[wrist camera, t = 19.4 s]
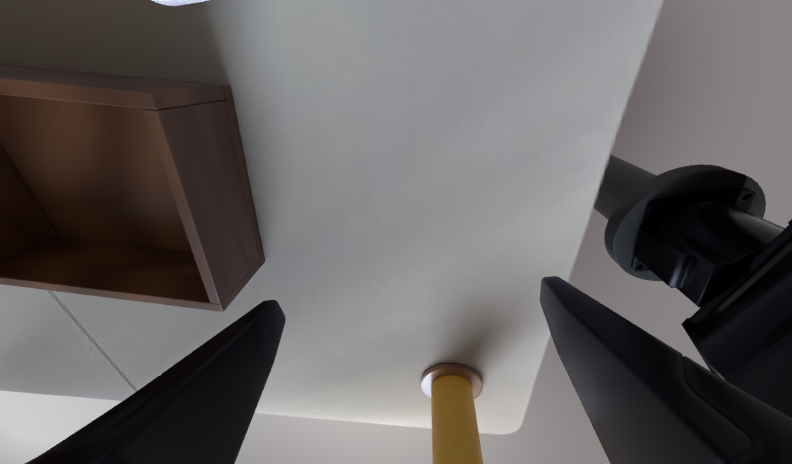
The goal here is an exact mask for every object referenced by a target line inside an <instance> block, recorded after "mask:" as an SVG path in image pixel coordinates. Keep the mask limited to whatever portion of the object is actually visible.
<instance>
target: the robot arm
mask: <svg viewBox="0 0 792 464" xmlns="http://www.w3.org/2000/svg"><path fill="white" fill-rule="evenodd" d="M744 195H745V196H744ZM755 196H756V192H755V191H753V190H751V189H748V188H741V189H732V190H724V191H715V192H707V193H699V194H690V195H682V196H673V197H665V198H656V199H653V200H651V201H649V202H648V204H647V206H646V209H645V213H644V216H643V220H642V224H641V227H640V229H639V233H638V237H637V240H636V244H635V248H634V251H633V257H632V260H631V264H630V267H631V268H632V269H633V270H634V271H636V272H641V271H652V272H654V273H655V274H656V275H657V276H658V277H659V278H660V279H661V280H663V281H664V282H665V283H666V284H667V285H668V286H670V287H671V288H677V289H678V290H680V291H681V292H682V293H683V294H684V295H685V296H686V297H688V298H689V299H690V300H691V301H692V302H693V303H695V304H696V305H697V306H698V307H701V308H700V309H699V310H698V311H697V312H696V313H695V314H694V315H693V316H692V317H691V318H687V319H686V320H685V321H684V322H683V323H682V326H683V327H684V329H685V331H686V332H687V334H688V335H689V337H690V339H691V340H692V342H693V343H694V345H695V347H696V348H697V350H698V352H699V353H700V355H701V356H702V358H703V360H704V361H705V363H706V364H707V366H708V368H709V369H710V371H709V370H707V369H705V368H704V367H702V366H701V365H699V364H697V363H696V362H694V361H692V360H691V359H689V358H688V357H686V356H684V357H683V355H682V354H681V353H679V352H678V351H676V350H675V349H673V348H672V347H670V346H668V345H667V344H665V343H663V342H662V341H660V340H659V339H657V338H655V337H654V336H652V335H650V334H648V333H647V332H646V331H644V330H643V329H641V328H639V327H638V326H636V325H634V324H633V323H631V322H630V321H628V320H627V319H625V318H623V317H622V316H620V315H619V314H617V313H615V312H613V311H612V310H610V309H609V308H607V307H606V306H604V305H602V304H601V303H599V302H598V301H596V300H594V299H593V298H591V297H589V296H588V295H586V294H585V293H583V292H582V291H580V290H578V289H577V288H575V287H573V286H572V285H570V284H569V283H567V282H566V281H564V280H562V279H561V278H559V277H556V276H553V277H544V278H543V279H542V281H541V292H540V302H541V306H542V309H543V312H544V315H545V318H546V320H547V323H548V326H549V329H550V332H551V335H552V338H553V341H554V344H555V346H556V349H557V351H558V354H559V356H560V358H561V361H562V362H563V365H564V367H565V369H566V371H567V373H568V375H569V377H570V379H571V381H572V384H573V386H574V388H575V390H576V392H577V394H578V396H579V398H580V400H581V402H582V405H583V407H584V409H585V411H586V413H587V415H588V417H589V419H590V421H591V423H592V426H593V428H594V430H595V431H596V434H597V436H598V438H599V440H600V442H601V444H602V447H603V449H604V451H605V453H606V455H607V457H608V459H609V461H610V463H611V464H792V220H790V221H789V222H788V223H789V225H788V226H787V227H786V228H783V227H781V226H779V225H776V224H774V223H772V222H770V221H767V220H765V219H763V218H761V217H758V216H756V215H754V214H751V213H749V212H748V211H749V209H750V206H751V204H752V202H753V200H754V198H755ZM657 204H658V205H657ZM655 205H657V206H656V207H654V206H655ZM638 265H639V266H638ZM284 325H285V315H284V313H283V311H282V309H281V308H280V306H279V304H278V302H277V301H276V300H267V301H263V302H262V303H260V304H259V305H258V306H256V307H255V308H253V309H252V310H251V311H249V312H248V313H246V314H245V315H244V316H242V317H241V318H239V319H238V320H237V321H235V322H234V323H232V324H231V325H230V326H228V327H227V328H225V329H224V330H223V331H221V332H220V333H218V334H217V335H216V336H214V337H213V338H211V339H210V340H209V341H207V342H206V343H204V344H203V345H202V346H200V347H199V348H197V349H196V350H195V351H193V352H192V353H190V354H189V355H188V356H186V357H185V358H183V359H182V360H181V361H179V362H178V363H176V364H175V365H174V366H172V367H171V368H169V369H168V370H167V371H165V372H164V373H162V374H161V376H158V377H157V378H155V379H154V380H152V381H151V382H150V383H148V384H147V385H145V386H144V387H143V388H141V389H140V390H138V391H137V392H135V393H134V394H133V395H131V396H130V397H128V398H127V399H125V400H124V401H122V402H121V403H119V404H118V405H116V406H115V407H113V408H112V409H110V410H109V411H107V412H106V413H104V414H103V415H102V416H100V417H98V418H97V419H95V420H94V421H92V422H91V423H89V424H88V425H86V426H85V427H83V428H82V429H80V430H78V431H77V432H75V433H74V434H72V435H71V436H69V437H68V438H66V439H65V440H63V441H62V442H60V443H59V444H57V445H56V446H54V447H52V448H51V449H49V450H48V451H46V452H45V453H43V454H41V455H40V456H38V457H37V458H35V459H33V460H31V461H29V462H27V463H25V464H234V463H235V461H236V458H237V456H238V453H239V451H240V448H241V445H242V443H243V440H244V438H245V435H246V433H247V430H248V427H249V425H250V422H251V420H252V417H253V415H254V412H255V410H256V407H257V404H258V402H259V399H260V397H261V394H262V392H263V389H264V386H265V384H266V381H267V379H268V376H269V374H270V371H271V368H272V366H273V363H274V360H275V357H276V353H277V350H278V346H279V342H280V339H281V335H282V332H283V328H284Z"/></svg>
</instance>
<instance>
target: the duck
mask: <svg viewBox="0 0 792 464" xmlns="http://www.w3.org/2000/svg"><path fill="white" fill-rule="evenodd" d="M431 405H432V451H433V464H483V460H482V453H481V447H480V440H479V433H478V426H477V420H476V413H475V406H474V400H473V393H472V386H471V384H470V383H469V382H468V381H467V380H466V379H464V378H462V377H459V376H452V375H449V376H442V377H439V378H437V379H436V380H434V381H433V383H432V385H431Z"/></svg>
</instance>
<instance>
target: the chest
mask: <svg viewBox="0 0 792 464" xmlns="http://www.w3.org/2000/svg"><path fill="white" fill-rule="evenodd" d="M264 262H265V260H264V255H263V250H262V245H261V240H260V235H259V229H258V224H257V219H256V214H255V209H254V204H253V199H252V194H251V189H250V184H249V179H248V173H247V168H246V163H245V158H244V153H243V148H242V143H241V138H240V133H239V128H238V123H237V118H236V112H235V107H234V102H233V97H232V92H231V87H230V86H227V85H217V84H207V83H196V82H186V81H175V80H165V79H154V78H144V77H134V76H123V75H113V74H102V73H92V72H81V71H71V70H61V69H50V68H40V67H29V66H19V65H8V64H0V284H4V285H12V286H20V287H28V288H36V289H44V290H52V291H60V292H68V293H76V294H84V295H92V296H100V297H108V298H116V299H124V300H132V301H140V302H148V303H156V304H164V305H172V306H180V307H188V308H196V309H204V310H212V311H220V312H223V311H224V310H225V309H226V308H227V307H228V305H229V304H230V303H231V302H232V301H233V299H234V298H235V297H236V296H237V295H238V293H239V292H240V291H241V290H242V289H243V287H244V286H245V285H246V284H247V282H248V281H249V280H250V279H251V278H252V276H253V275H254V274H255V273H256V272H257V270H258V269H259V268H260V267H261V266H262V265H263V264H264Z"/></svg>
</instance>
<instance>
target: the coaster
mask: <svg viewBox="0 0 792 464" xmlns="http://www.w3.org/2000/svg"><path fill="white" fill-rule="evenodd" d="M449 375H452V376H459V377H462V378H464V379H466V380H467V381H468V382H469V383H470V384H471V386H472V393H473V399H475V398H476V397H478V396H479V394H480V393H481V391H482V380H481V378H480V376H479V374H478V373H477V372H475V371H474V370H473V369H471V368H469V367H466V366H463V365H459V364H441V365H437V366H434V367H432V368H430V369H428V370H427V371H426V372H425V373H424V374H423V375H422V378H421V389H422V391H423V393H424V394H425V395H426V396H427V397H429V398H430V399H431V385H432V383H433V381H434V380H436V379H437V378H439V377H442V376H449Z"/></svg>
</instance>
